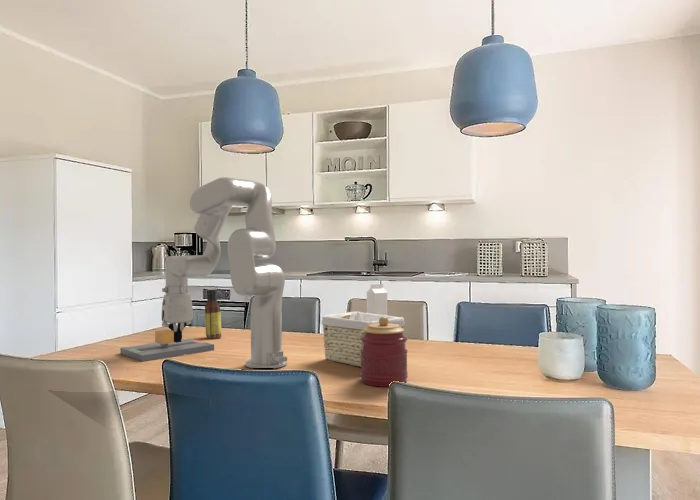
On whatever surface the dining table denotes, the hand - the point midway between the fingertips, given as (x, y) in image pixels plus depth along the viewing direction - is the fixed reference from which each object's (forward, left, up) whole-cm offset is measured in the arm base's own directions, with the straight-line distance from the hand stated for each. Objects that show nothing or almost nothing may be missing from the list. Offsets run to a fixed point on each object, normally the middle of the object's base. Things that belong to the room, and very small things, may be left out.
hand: (177, 341), depth 186 cm
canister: (-81, -20, -3) cm, 83 cm away
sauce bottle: (+14, -23, -3) cm, 27 cm away
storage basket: (-59, -34, -4) cm, 68 cm away
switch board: (0, +3, -3) cm, 5 cm away
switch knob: (0, +5, -1) cm, 5 cm away
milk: (-37, -66, -3) cm, 75 cm away
